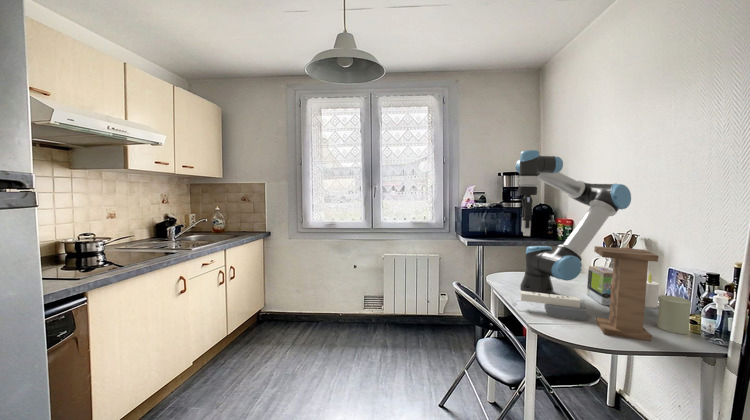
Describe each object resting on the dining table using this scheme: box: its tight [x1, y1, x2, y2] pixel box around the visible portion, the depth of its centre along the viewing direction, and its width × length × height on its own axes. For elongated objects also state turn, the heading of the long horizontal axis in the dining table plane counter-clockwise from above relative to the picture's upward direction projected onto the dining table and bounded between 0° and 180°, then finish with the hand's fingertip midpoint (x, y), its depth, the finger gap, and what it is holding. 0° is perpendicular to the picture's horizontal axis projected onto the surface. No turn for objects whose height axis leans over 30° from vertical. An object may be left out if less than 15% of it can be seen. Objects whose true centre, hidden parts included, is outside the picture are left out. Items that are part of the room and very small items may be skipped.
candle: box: [645, 272, 660, 309], centre depth 153 cm, size 6×6×15 cm
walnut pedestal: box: [593, 245, 659, 342], centre depth 125 cm, size 12×16×30 cm
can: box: [656, 294, 692, 335], centre depth 128 cm, size 9×9×12 cm
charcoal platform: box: [544, 302, 588, 322], centre depth 142 cm, size 10×14×4 cm
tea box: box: [586, 265, 613, 306], centre depth 159 cm, size 15×10×15 cm, turn 171°
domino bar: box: [520, 290, 581, 308], centre depth 143 cm, size 4×22×3 cm, turn 69°
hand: (525, 233), depth 151 cm, fingers open, 13 cm apart
